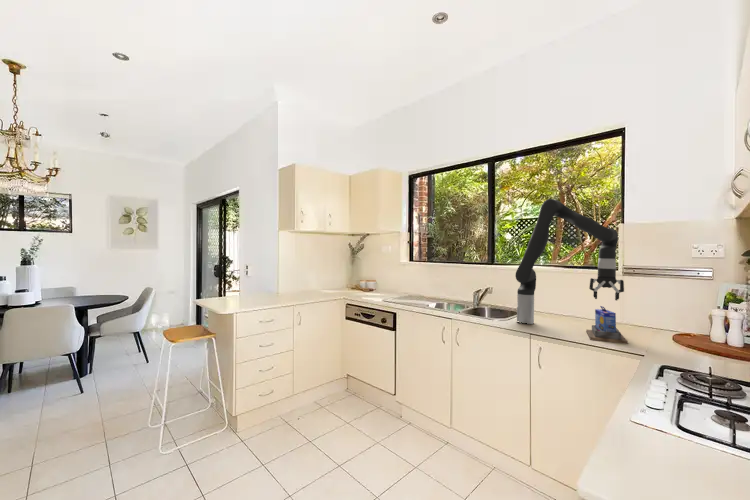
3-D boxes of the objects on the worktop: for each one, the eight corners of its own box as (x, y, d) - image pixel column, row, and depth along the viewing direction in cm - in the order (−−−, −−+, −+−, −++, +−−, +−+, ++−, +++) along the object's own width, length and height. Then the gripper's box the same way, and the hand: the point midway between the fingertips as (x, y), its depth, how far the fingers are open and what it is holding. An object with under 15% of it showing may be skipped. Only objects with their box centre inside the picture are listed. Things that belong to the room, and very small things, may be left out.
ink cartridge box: (594, 332, 175) (594, 304, 175) (605, 332, 174) (606, 304, 174) (604, 337, 165) (604, 308, 165) (616, 337, 164) (616, 308, 164)
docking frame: (590, 339, 165) (590, 331, 165) (586, 331, 181) (586, 323, 181) (627, 343, 158) (627, 335, 158) (620, 335, 174) (620, 327, 174)
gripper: (590, 267, 169) (590, 299, 169) (625, 268, 163) (624, 301, 163) (589, 266, 176) (588, 297, 176) (622, 267, 169) (621, 299, 170)
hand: (606, 299), depth 169 cm, fingers open, 8 cm apart
